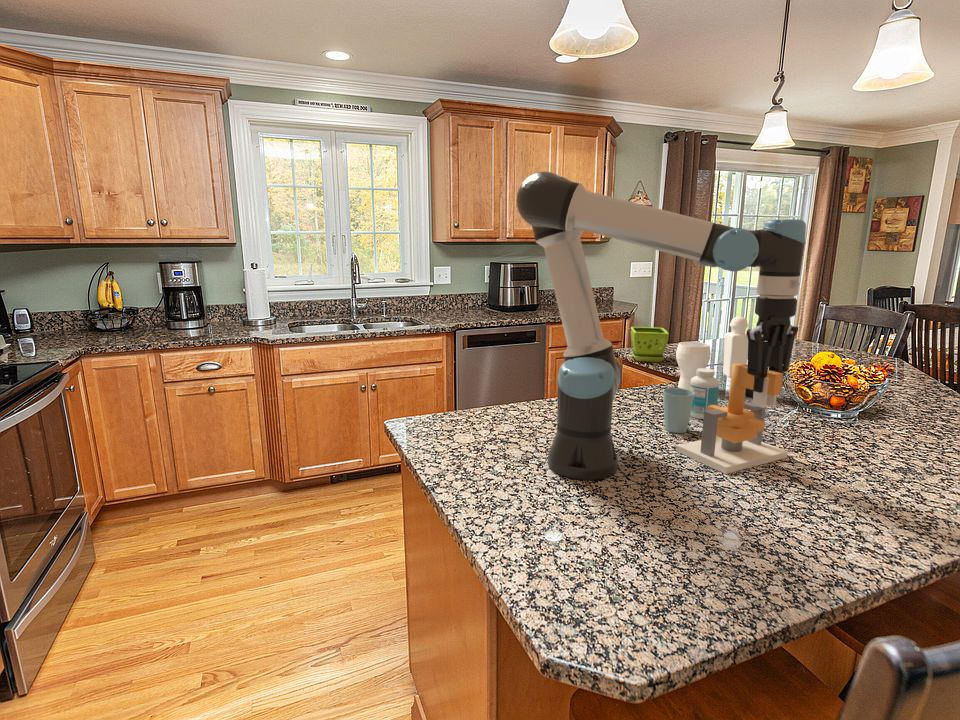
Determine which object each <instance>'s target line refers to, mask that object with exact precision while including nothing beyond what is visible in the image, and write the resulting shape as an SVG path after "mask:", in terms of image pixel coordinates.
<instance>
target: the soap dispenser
mask: <svg viewBox="0 0 960 720" xmlns="http://www.w3.org/2000/svg"><path fill="white" fill-rule="evenodd" d="M729 326H730V328H731V332H726V333H725V334H724V349H723V363H722V364H723V369H722V374H723V375H725V376H726V377H727V378H731V374H732V364H734V363H741V364H747V365H748V337H747V333H746V331H747V330H746V329H747V328H748V327H749V323H748V320H747V319H746V318H745V317H743V316H739V315H738V316H735V317H733V318H732V319H731V321H730V323H729Z"/></svg>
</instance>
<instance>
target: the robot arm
mask: <svg viewBox="0 0 960 720" xmlns="http://www.w3.org/2000/svg"><path fill="white" fill-rule="evenodd" d="M516 193H517V194H516V199H515V200H516V207H517V212H518V213H519V215H520V217H521V218H522V219H523V220H524V222H526V223H527V224H528V225H530V226H531V228H532V232H533V237H534V241H535V243H536V244H538V246H541V247H542V249H543V250H544V254H545V258H546V262H547V263H546V264H547V265H548V270H549V274H550V278H551V282H552V283H551V284H552V287H553V291H554V296H555V299H556V304H557V307H558V308H557V309H558V311H559V314H560V315H559V316H560V318H561V324H562V328H563V332H564V336H565V341H566V344H567V347H566V349H565V351H564V352H563V354H562V355H563V359H564V362H563V363H561V365H560V367H559V370H558V375H557V408H556V409H557V412H556V413H557V416H556V419H557V420H556V433H555V436H554V438H553V441H552V444H551V447H550V450H549V451H548V455H547V465H548V468H549V469H550V470H551V471H553V472H554V473H556V474H558V475H560V476H563V477H566V478H569V479H574V480H583V481H594V480H602V479H607V478H609V477H611V476H613V475H615V474H616V473H617V472H618V471H617V470H618V456H617V452H616V449H615V445H614V442H613V438H612V420H613V418H612V416H613V403H614V399H615V397H616V394H617V392H618V390H619V389H620V387H621V383H622V368H621V365H620V364H619V361H618V360H617V359H616V356H615V352H614V347H613V343H612V342H611V341H609V340H608V339H606V338H605V337H604V335H603V330H602V326H601V321H600V316H599V312H598V309H597V304H596V300H595V295H594V291H593V287H592V283H591V282H592V281H591V279H590V278H591V277H590V275H589V270H588V265H587V261H586V257H585V253H584V248H583V244H582V240H581V236H582V234H583V233H584V232H588V233H591V234H596V235H599V236H602V237H607V238H610V239H614V240H618V241H620V242H621V241H622V242H626V243H629V244H632V245H637V246H641V247H644V248H647V249H652V250H655V251H657V252H662V253H666V254H670V255H673V256H678V257H681V258H685V259H688V260H692V261H696V262H698V264H699V265H700V266H702V267H711V268H717V267H718V268H721V269H722V270H724V271H729V272H733V273H734V272H740V271H742V270H745V269H746V268H756V267H757V268H759V270H758V271H759V272H758V278H757V287H756V294H757V295H758V296H757V297H756V299H755V306H754V314H755V315H757V316H758V318H757V319H758V320H757V322H756V325H755V326H756V327H754V328H752V329H750V328H749V329H747V330H746V331H745V334H747V337H748V358H747V365H748V366H747V373H748V374H750V375H753V376H754V387H753V391H754V393H753V398H752V401H751V402H752V405H755V406H758V407H761V408H767V405H768V406H771V407H776V405H777V397H778V395H774V396H773V395H769V394H767V393H768V385H769V378H766V376H767V372H768V370H770V371H774V372H779V373H783V377H785V376H786V374H787V373H786V372H788V370H789V367H790V362H791V357H792V352H793V347H794V344H795V338H796V335H797V334H798V332H799V327H798V326H796V325H792V324H791V319H790V318H793V317H795V316H796V314H797V307H798V299H797V298H795V297H796V296H797V295H799V290H800V289H799V287H800V280H801V272H802V266H803V259H804V252H805V246H806V243H807V242H806V234H807V233H806V231H807V230H806V229H807V224H806V221H804V220H802V219H791V218H790V219H785V218H784V219H768V220H766V221H765V222H764V224H763V225H764V226H763V228H761V229H754V230H753V229H751V230H750V229H745V228H742V227H733V226H728V225H724V224H722V223H720V224H719V223H715V222H713V221H708V220H705V219H700V218H697V217H692V216H689V215H686V214H685V215H684V214H681V213H676V212H673V211H669V210H665V209H661V208H657V207H653V206H649V205H645V204H641V203H636V202H633V201H629V200H626V199H621V198H618V197H613V196H609V195H605V194H601V193H597V192H594V191H590V190H586V188H585V187H584V185H583V183H578V182H575V181H572V180H570V179H568V178H566V177H563V176H560V175H558V174H557V173H554V172H551V171H538V172H535V173H532V174H531V175H529V176H528V177H527V178H525V179H524V180H523V181H522V183H521V184H520V185H519V188H518V190H517V192H516ZM761 371H762V372H761Z"/></svg>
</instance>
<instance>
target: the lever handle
mask: <svg viewBox="0 0 960 720" xmlns="http://www.w3.org/2000/svg"><path fill="white" fill-rule="evenodd" d="M747 366H748V363H747V364H741V363H734V364H732V374H731V377H730V385H729V397H728V403H727V404H728V405H727V406H720V405H718V404H717V405H710V406H708V408H707V411H708V410H713V409H720V410H723V411H726V412H728V414H727V417H722V418H718V423H717V433H716V436H718V437H720V438H723V439H725V440H728V441H730V442H733V443H739V442H743V441H747V440H751V439H756V438H757V432H758V431H763V432H764V431H765V427H766V421H765V420H764V421H762V420H759V419H756V418H754V417H755V414H754V413H753V412H751V410H749V409H745V408H744V403H745V398H746V396H745V391H746V388H748V389H751V390H753V387H754V376H753V375H750V374H748V373H747ZM761 372H762V371H761ZM783 373H784V372H783ZM783 373H779V372H774V371H770V370H769V369H768V372H767V376H766V378H769V385H768V393H767V394H769V395H773V396H774V395H777V396H778V395H781V394H782V387H783V379H784V376H783Z"/></svg>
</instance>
